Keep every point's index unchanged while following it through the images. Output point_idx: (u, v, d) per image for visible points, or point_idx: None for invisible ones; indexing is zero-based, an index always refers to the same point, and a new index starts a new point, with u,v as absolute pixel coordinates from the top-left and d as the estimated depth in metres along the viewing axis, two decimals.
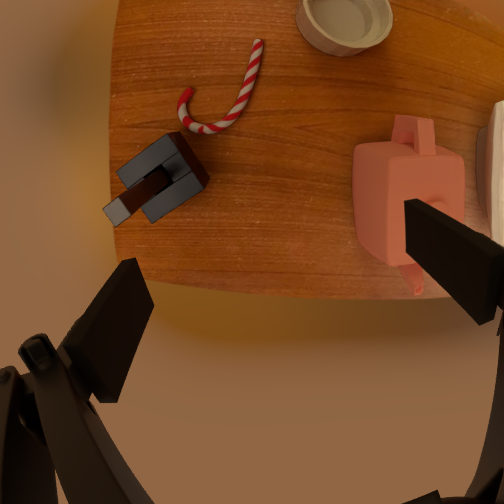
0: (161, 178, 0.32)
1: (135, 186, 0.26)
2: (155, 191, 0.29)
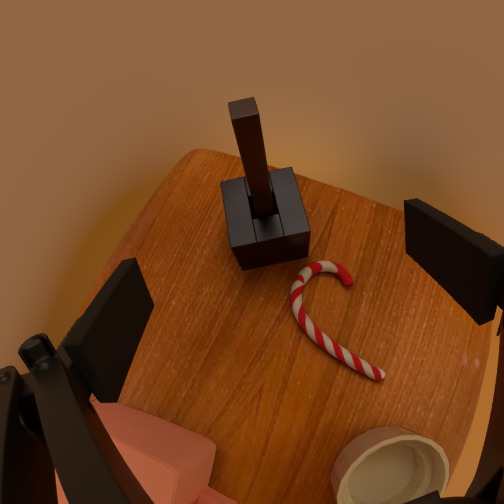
0: (262, 203, 0.29)
1: (263, 151, 0.22)
2: (249, 182, 0.26)
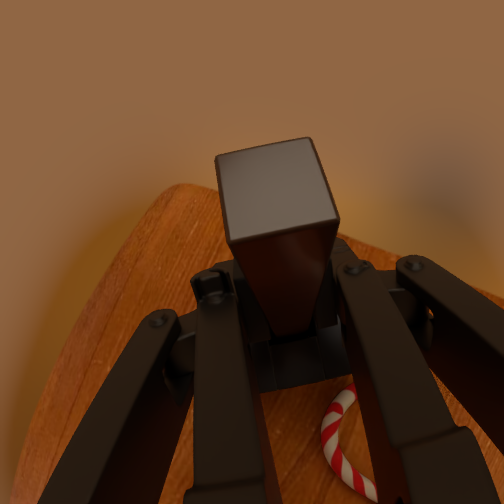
0: (290, 329, 0.15)
1: (317, 288, 0.08)
2: (271, 320, 0.12)
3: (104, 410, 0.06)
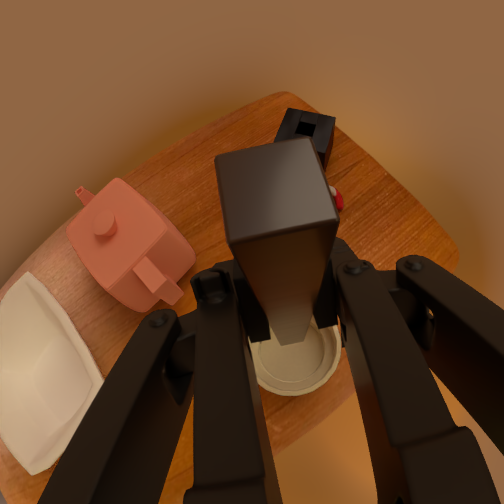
0: (290, 329, 0.15)
1: (317, 288, 0.08)
2: (271, 320, 0.12)
3: (104, 410, 0.06)
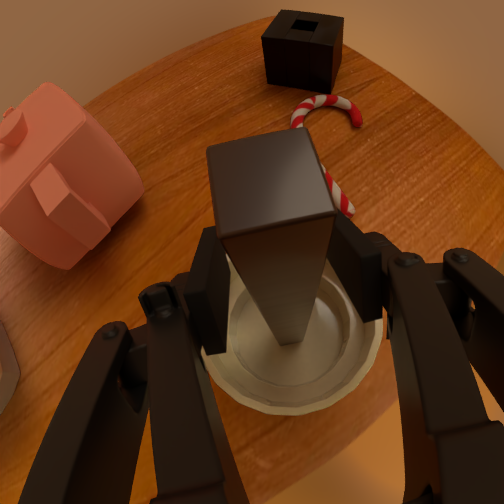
0: (288, 329, 0.15)
1: (315, 286, 0.08)
2: (269, 319, 0.11)
3: (66, 419, 0.06)
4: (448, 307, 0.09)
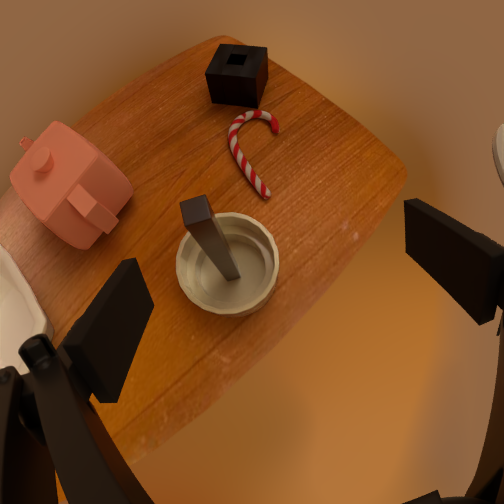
0: (223, 263, 0.31)
1: (219, 237, 0.24)
2: (209, 255, 0.27)
3: None
4: None
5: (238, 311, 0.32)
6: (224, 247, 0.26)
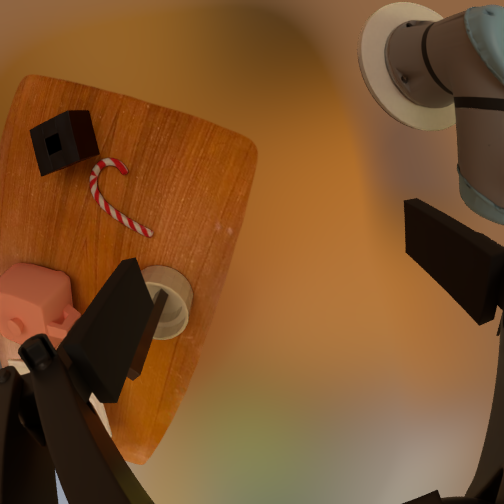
0: None
1: (146, 355, 0.39)
2: None
3: None
4: None
5: (178, 333, 0.50)
6: (150, 343, 0.42)
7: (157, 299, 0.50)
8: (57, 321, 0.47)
